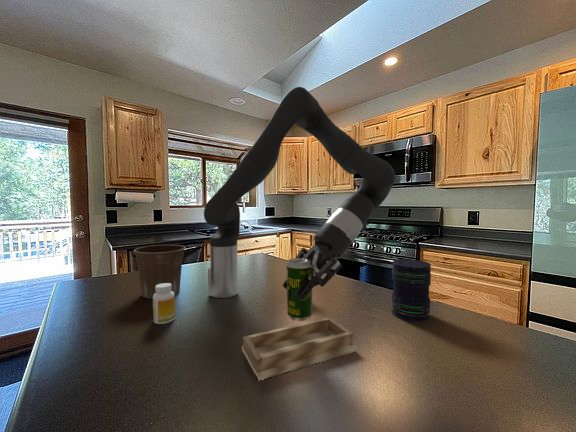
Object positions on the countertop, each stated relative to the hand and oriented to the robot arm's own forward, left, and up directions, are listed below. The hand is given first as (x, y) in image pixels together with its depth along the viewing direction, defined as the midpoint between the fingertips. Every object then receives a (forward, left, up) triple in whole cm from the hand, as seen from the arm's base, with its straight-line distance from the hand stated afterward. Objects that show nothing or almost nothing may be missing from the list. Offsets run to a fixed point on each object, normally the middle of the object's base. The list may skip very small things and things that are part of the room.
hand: (292, 292), depth 56 cm
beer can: (+1, +1, -6) cm, 6 cm away
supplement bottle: (-37, +10, -13) cm, 40 cm away
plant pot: (-51, +29, -13) cm, 60 cm away
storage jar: (+30, +24, -13) cm, 41 cm away
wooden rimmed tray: (+1, +1, -13) cm, 13 cm away
